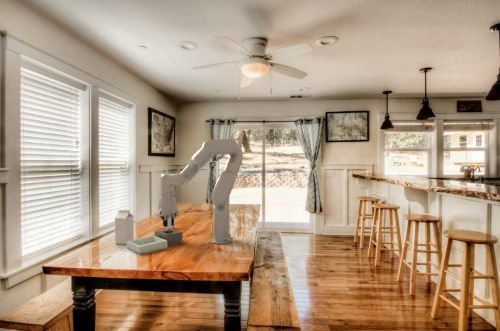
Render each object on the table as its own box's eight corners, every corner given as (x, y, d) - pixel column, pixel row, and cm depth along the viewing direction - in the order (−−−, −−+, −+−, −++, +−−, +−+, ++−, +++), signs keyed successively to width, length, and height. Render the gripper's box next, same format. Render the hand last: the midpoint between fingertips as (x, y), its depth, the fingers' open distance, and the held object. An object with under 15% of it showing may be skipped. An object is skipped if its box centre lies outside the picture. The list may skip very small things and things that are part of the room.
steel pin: (173, 238, 166) (172, 211, 166) (167, 240, 164) (167, 212, 164) (170, 237, 169) (169, 211, 169) (164, 239, 166) (163, 211, 166)
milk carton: (126, 244, 162) (125, 211, 162) (115, 244, 163) (114, 211, 163) (133, 241, 169) (133, 209, 168) (123, 240, 170) (122, 209, 170)
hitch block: (182, 242, 165) (182, 232, 165) (166, 246, 158) (166, 235, 158) (169, 238, 175) (169, 228, 175) (154, 241, 168) (154, 231, 168)
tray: (167, 247, 155) (167, 240, 155) (139, 254, 144) (139, 247, 144) (153, 242, 166) (153, 235, 166) (126, 248, 155) (126, 241, 155)
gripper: (176, 193, 174) (177, 222, 175) (151, 195, 163) (152, 227, 163) (183, 193, 169) (184, 224, 170) (157, 196, 157) (158, 229, 158)
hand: (168, 225), depth 166 cm, fingers closed on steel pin, 3 cm apart
